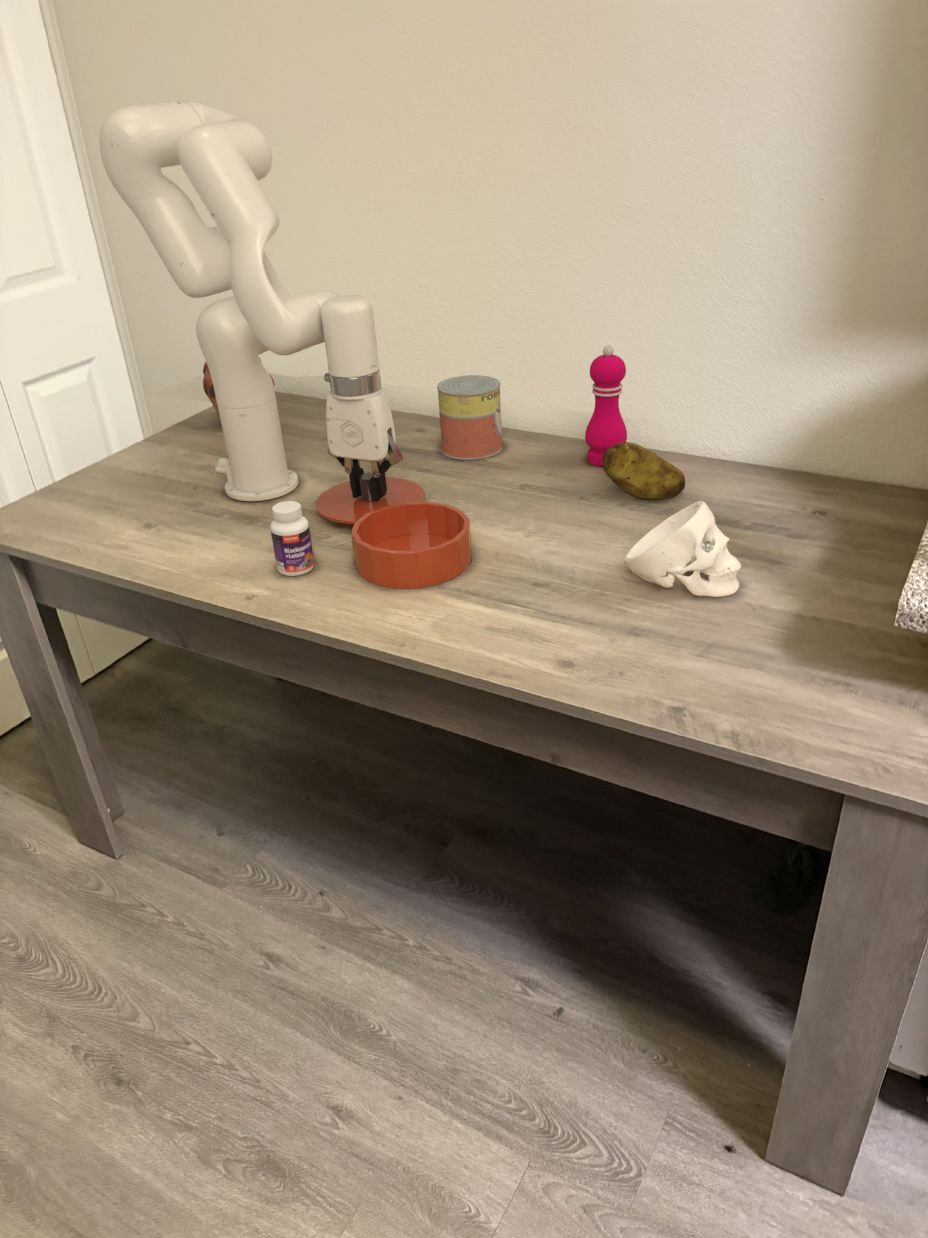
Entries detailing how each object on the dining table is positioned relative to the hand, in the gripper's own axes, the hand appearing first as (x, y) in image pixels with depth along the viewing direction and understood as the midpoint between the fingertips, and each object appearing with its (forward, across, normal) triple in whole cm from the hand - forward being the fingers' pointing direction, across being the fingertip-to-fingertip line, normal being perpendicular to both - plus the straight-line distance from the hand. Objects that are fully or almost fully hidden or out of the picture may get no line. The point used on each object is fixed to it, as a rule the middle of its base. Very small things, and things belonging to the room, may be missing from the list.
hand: (369, 495), depth 147 cm
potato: (+3, +39, +20) cm, 44 cm away
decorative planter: (+3, -48, +29) cm, 56 cm away
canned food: (+3, +4, +30) cm, 30 cm away
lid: (+1, 0, 0) cm, 1 cm away
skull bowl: (+3, +52, -6) cm, 52 cm away
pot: (+3, +15, -13) cm, 20 cm away
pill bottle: (+3, 0, -21) cm, 21 cm away
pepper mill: (+3, +29, +32) cm, 43 cm away
